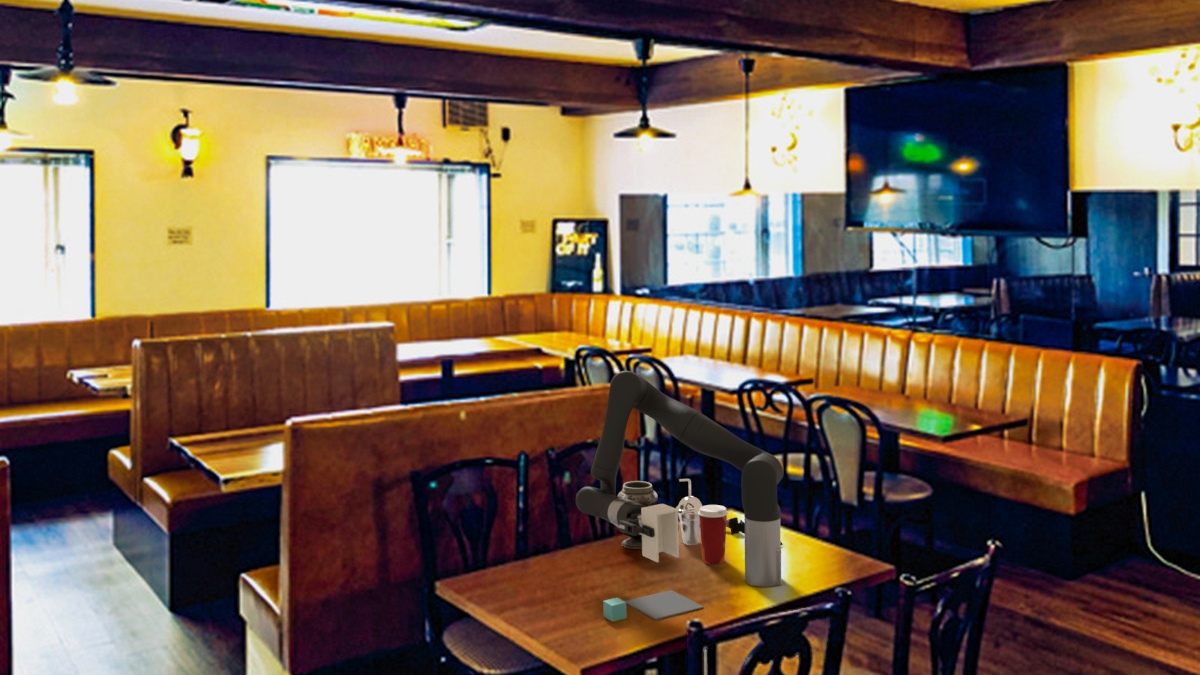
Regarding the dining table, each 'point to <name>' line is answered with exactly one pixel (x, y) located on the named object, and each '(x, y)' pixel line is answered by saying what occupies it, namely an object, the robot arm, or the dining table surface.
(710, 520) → the coffee cup
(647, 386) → the robot arm
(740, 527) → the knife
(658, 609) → the mat
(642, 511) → the cream rectangular box
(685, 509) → the cup with straw
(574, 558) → the dining table surface
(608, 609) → the block
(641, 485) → the apothecary jar
